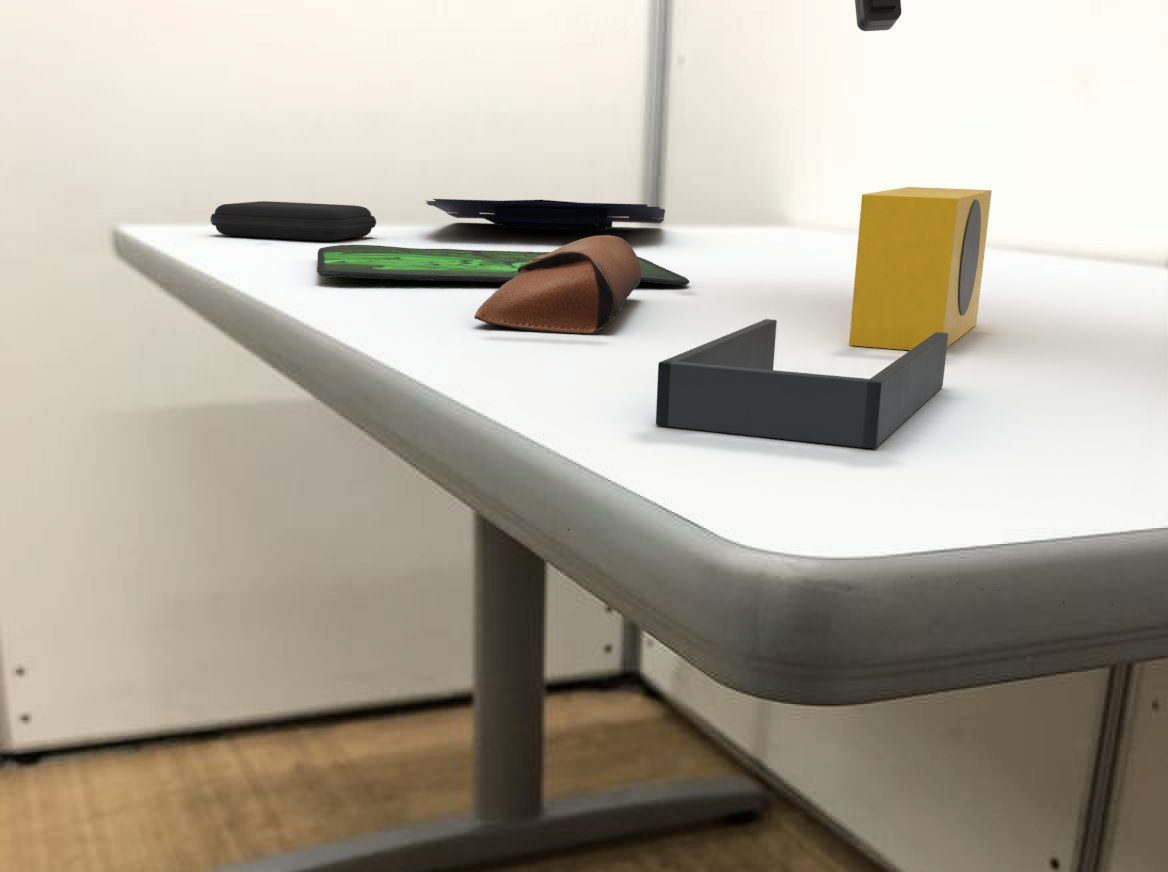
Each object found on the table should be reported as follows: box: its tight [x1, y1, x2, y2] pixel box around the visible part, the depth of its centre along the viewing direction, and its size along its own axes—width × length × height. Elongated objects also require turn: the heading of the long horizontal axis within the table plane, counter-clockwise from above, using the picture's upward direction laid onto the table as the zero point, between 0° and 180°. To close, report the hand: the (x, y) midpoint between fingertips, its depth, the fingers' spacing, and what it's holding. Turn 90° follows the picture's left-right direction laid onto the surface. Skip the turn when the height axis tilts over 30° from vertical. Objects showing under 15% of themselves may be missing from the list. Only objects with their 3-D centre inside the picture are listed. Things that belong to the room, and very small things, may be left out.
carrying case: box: [209, 200, 377, 242], centre depth 139 cm, size 11×3×15 cm
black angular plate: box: [425, 198, 666, 239], centre depth 149 cm, size 24×30×4 cm
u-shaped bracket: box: [655, 318, 948, 450], centre depth 60 cm, size 15×9×2 cm, turn 157°
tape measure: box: [848, 186, 993, 351], centre depth 81 cm, size 13×5×8 cm, turn 157°
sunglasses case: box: [473, 234, 641, 335], centre depth 87 cm, size 18×7×7 cm
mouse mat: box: [316, 244, 691, 286], centre depth 110 cm, size 27×22×1 cm
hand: (879, 25), depth 81 cm, fingers closed
